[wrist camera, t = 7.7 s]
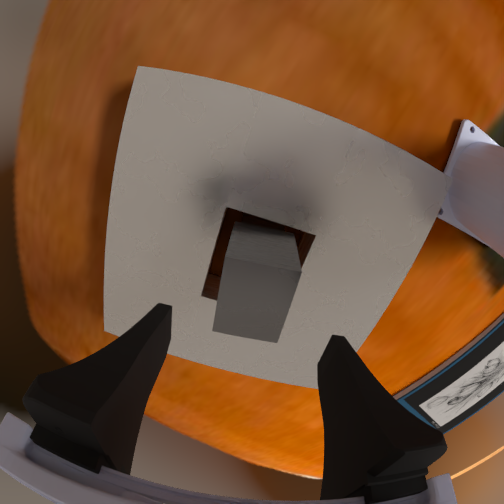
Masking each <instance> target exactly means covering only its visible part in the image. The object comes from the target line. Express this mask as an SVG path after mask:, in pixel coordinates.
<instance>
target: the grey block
mask: <svg viewBox="0 0 504 504" xmlns="http://www.w3.org/2000/svg"><path fill="white" fill-rule="evenodd" d="M301 274H302V270H301V265H300V260H299V255H298V250H297V245H296V241H295V236H294V233H290V232H285V226H284V225H283V224H280V223H277V222H274V221H271V220H267V219H264V218H261V217H258V216H255V215H252V214H247V213H243V217H242V221H241V222H238V221H235V223H234V227H233V230H232V234H231V237H230V241H229V244H228V248H227V251H226V255H225V259H224V265H223V270H222V276H221V282H220V287H219V293H218V299H217V305H216V311H215V317H214V323H213V329H212V331H213V332H218V333H223V334H228V335H233V336H239V337H244V338H250V339H255V340H261V341H267V342H273V343H277V342H278V340H279V337H280V334H281V331H282V329H283V326H284V323H285V320H286V317H287V315H288V312H289V309H290V306H291V303H292V300H293V297H294V294H295V292H296V289H297V286H298V283H299V280H300V277H301Z"/></svg>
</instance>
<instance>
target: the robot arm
mask: <svg viewBox="0 0 504 504" xmlns="http://www.w3.org/2000/svg"><path fill="white" fill-rule="evenodd" d="M471 127H472V131H470V128H471ZM443 173H444V174H446V175H447V176H449V177H451V178H452V179H453V181H452V183H451V185H450V188H449V190H448V193H447V195H446V197H445V200H444V202H443V204H442V206H441V208H440V209H441V211H440V213H438V215H437V217H438V218H440V219H442V220H444V221H445V222H447V223H449V224H451V225H453V226H455V227H456V228H458V229H460V230H462V231H464V232H465V233H467V234H469V235H471V236H472V237H474V238H476V239H477V240H479V241H481V242H482V243H484V244H486V245H487V246H489V247H491V248H492V249H494V250H495V251H496V252H497V253H498V254H500V255H501V256H502V257H503V258H504V147H501V146H499V145H498V144H497V143H496V142H495V141H494V140H492V139H491V138H490V137H489V136H488V135H487V134H485V133H484V132H483V131H482V130H481V129H479V128H478V127H477V126H476V125H475V124H473V123H472V122H471V121H469V120H466V119H465V120H463V121H462V122H461V125H460V128H459V131H458V134H457V137H456V140H455V143H454V146H453V149H452V151H451V154H450V157H449V160H448V162H447V165H446V167H445V170H444V172H443ZM171 327H172V306H171V305H167V304H162V303H158V304H156V305H155V306H154V307H153V308H152V309H151V310H150V311H149V312H148V313H147V314H146V315H145V316H144V317H143V318H142V319H141V320H139V321H138V322H137V323H136V324H135V325H134V326H132V327H131V328H130V329H129V330H128V331H126V332H125V333H124V334H122V335H121V336H120V337H118V338H117V339H116V340H114V341H113V342H112V343H110V344H109V345H107V346H106V347H104V348H102V349H101V350H99V351H97V352H96V353H94V354H92V355H90V356H88V357H86V358H84V359H82V360H80V361H78V362H76V363H73V364H71V365H68V366H66V367H63V368H60V369H58V370H54V371H51V372H47V373H44V374H40V375H38V376H37V377H36V378H35V380H34V381H33V382H32V384H31V385H30V387H29V389H28V390H27V392H26V394H25V396H24V397H23V404H24V406H25V408H26V409H27V411H28V412H29V414H30V415H31V417H32V418H33V419H34V421H35V422H36V423H37V424H36V426H35V427H34V429H33V428H32V427H31V426H29V425H28V424H27V423H25V422H23V421H22V420H20V419H19V418H17V417H15V416H14V415H12V414H11V413H7V414H6V416H5V417H4V419H3V421H2V423H1V425H0V468H1V469H2V470H3V471H5V472H6V473H7V474H9V475H10V476H11V477H13V478H14V479H15V480H17V481H19V482H20V483H22V484H23V485H25V486H26V487H28V488H30V489H31V490H33V491H34V492H36V493H38V494H39V495H41V496H43V497H45V498H47V499H48V500H50V501H52V502H54V503H56V504H163V503H165V504H457V500H456V496H455V492H454V489H453V485H452V481H451V478H450V474H449V473H446V474H443V475H440V476H436V477H433V478H430V479H428V480H426V478H425V475H427V474H428V469H427V467H428V466H429V465H431V464H432V463H433V462H435V461H436V460H437V459H439V458H440V457H441V456H442V455H443V454H444V453H445V452H446V450H447V445H446V442H445V439H444V436H443V433H442V432H441V431H439V430H437V429H435V428H434V427H432V426H430V425H428V424H427V423H425V422H423V421H422V420H421V419H419V418H418V417H416V416H415V415H414V414H412V413H411V412H410V411H408V410H407V409H406V408H405V407H404V406H402V405H401V404H400V403H399V402H398V401H397V400H396V399H395V398H394V397H393V396H392V395H391V394H390V393H389V392H388V391H387V390H386V389H385V388H384V387H383V386H382V385H381V384H380V383H379V381H378V380H377V379H376V378H375V377H374V376H373V374H372V373H371V372H370V370H369V369H368V368H367V367H366V365H365V364H364V363H363V361H362V360H361V358H360V357H359V356H358V354H357V353H356V352H355V350H354V349H353V347H352V346H351V345H350V343H349V342H348V340H347V339H346V338H345V337H344V336H339V335H332V336H331V338H330V340H329V342H328V344H327V346H326V348H325V350H324V352H323V354H322V356H321V358H320V360H319V362H318V364H317V380H318V390H319V396H320V403H321V409H322V416H323V423H324V469H323V482H322V489H321V497H320V500H318V501H271V500H269V501H268V500H253V499H242V498H233V497H224V496H217V495H211V494H204V493H199V492H193V491H188V490H183V489H179V488H174V487H170V486H166V485H161V484H158V483H154V482H150V481H147V480H144V479H140V478H137V477H133V476H131V475H130V471H131V466H132V461H133V456H134V451H135V446H136V442H137V437H138V433H139V429H140V425H141V421H142V417H143V414H144V411H145V407H146V404H147V401H148V398H149V395H150V393H151V391H152V388H153V386H154V384H155V381H156V379H157V377H158V374H159V372H160V370H161V367H162V365H163V363H164V360H165V358H166V355H167V351H168V348H169V344H170V341H171Z"/></svg>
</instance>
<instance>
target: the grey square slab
mask: <svg viewBox="0 0 504 504" xmlns="http://www.w3.org/2000/svg"><path fill="white" fill-rule="evenodd" d="M452 181H453V179H452V178H451V177H449V176H447V175H446V174H444V173H443V172H441V171H439V170H438V169H436V168H434V167H433V166H431V165H429V164H428V163H426V162H424V161H422V160H421V159H419V158H417V157H415V156H413V155H412V154H410V153H408V152H406V151H404V150H402V149H400V148H399V147H397V146H395V145H393V144H391V143H389V142H387V141H385V140H383V139H381V138H379V137H377V136H375V135H372V134H370V133H368V132H366V131H364V130H362V129H360V128H357V127H355V126H353V125H351V124H348V123H346V122H344V121H341V120H339V119H336V118H334V117H332V116H329V115H327V114H324V113H321V112H319V111H316V110H314V109H311V108H308V107H306V106H303V105H300V104H297V103H294V102H292V101H289V100H286V99H283V98H280V97H276V96H273V95H270V94H267V93H264V92H260V91H257V90H254V89H250V88H246V87H243V86H239V85H235V84H231V83H228V82H223V81H219V80H215V79H211V78H206V77H202V76H197V75H192V74H187V73H182V72H176V71H170V70H164V69H158V68H151V67H143V66H138V68H137V71H136V75H135V78H134V82H133V85H132V89H131V93H130V96H129V100H128V104H127V108H126V112H125V117H124V121H123V126H122V130H121V135H120V140H119V145H118V150H117V156H116V162H115V167H114V174H113V180H112V187H111V195H110V203H109V212H108V222H107V233H106V247H105V265H104V331H107V332H109V333H112V334H114V335H117V336H119V337H120V336H121V335H122V334H124V333H125V332H126V331H128V330H129V329H130V328H131V327H132V326H134V325H135V324H136V323H137V322H138V321H139V320H141V319H142V318H143V317H144V316H145V315H146V314H147V313H148V312H149V311H150V310H151V309H152V308H153V307H154V306H155V305H156V304H158V303H162V304H167V305H171V306H172V327H171V341H170V344H169V348H168V351H167V353H168V354H171V355H174V356H177V357H181V358H184V359H187V360H191V361H194V362H198V363H201V364H205V365H208V366H212V367H216V368H220V369H223V370H227V371H231V372H235V373H240V374H244V375H248V376H252V377H257V378H262V379H266V380H271V381H276V382H281V383H286V384H292V385H297V386H303V387H309V388H315V389H318V380H317V364H318V362H319V360H320V358H321V356H322V354H323V352H324V350H325V348H326V346H327V344H328V342H329V340H330V338H331V336H332V335H339V336H344V337H345V338H346V339H347V340H348V342H349V343H350V345H351V346H352V347H353V349H354V350H355V352H357V351H358V349H359V348H360V347H361V345H362V344H363V342H364V341H365V339H366V338H367V337H368V335H369V334H370V332H371V331H372V329H373V328H374V326H375V325H376V323H377V322H378V320H379V319H380V317H381V316H382V314H383V313H384V311H385V310H386V308H387V306H388V305H389V303H390V302H391V300H392V298H393V297H394V295H395V294H396V292H397V290H398V289H399V287H400V285H401V283H402V282H403V280H404V278H405V277H406V275H407V273H408V271H409V270H410V268H411V266H412V264H413V262H414V261H415V259H416V257H417V255H418V253H419V251H420V249H421V247H422V246H423V244H424V242H425V240H426V238H427V236H428V234H429V232H430V230H431V228H432V226H433V223H434V221H435V219H436V217H437V215H438V213H439V211H440V208H441V206H442V204H443V202H444V200H445V197H446V195H447V193H448V190H449V188H450V185H451V183H452ZM228 207H229V208H232V209H235V210H239V211H242V212H245V213H248V214H252V215H255V216H258V217H261V218H264V219H267V220H271V221H274V222H277V223H280V224H283V225H286V226H289V227H292V228H295V229H298V230H301V231H304V233H303V235H302V237H301V240H300V242H299V245H298V247H297V250H298V255H299V260H300V265H301V270H302V274H301V277H300V280H299V283H298V286H297V289H296V292H295V294H294V297H293V300H292V303H291V306H290V309H289V312H288V315H287V317H286V320H285V323H284V326H283V329H282V331H281V334H280V337H279V340H278V342H277V343H273V342H267V341H261V340H255V339H250V338H244V337H239V336H233V335H228V334H223V333H218V332H213V331H212V329H213V323H214V317H215V311H216V305H217V299H218V293H219V287H220V282H221V277H219V276H216V275H212V274H209V270H210V266H211V263H212V259H213V256H214V252H215V249H216V245H217V242H218V238H219V235H220V231H221V228H222V225H223V221H224V218H225V214H226V211H227V208H228Z"/></svg>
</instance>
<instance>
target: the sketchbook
mask: <svg viewBox="0 0 504 504" xmlns="http://www.w3.org/2000/svg"><path fill="white" fill-rule="evenodd" d="M503 391H504V313H503V314H502V315H501V316H500V317H499V318H498V319H497V320H496V321H495V322H493V323H492V324H491V325H490V326H489V327H488V328H487V329H486V330H484V331H483V332H482V333H481V334H480V335H479V336H477V337H476V338H475V339H474V340H473V341H471V342H470V343H469V344H468V345H466V346H465V347H464V348H463V349H461V350H460V351H459V352H457V353H456V354H455V355H454V356H452V357H451V358H450V359H448V360H447V361H445V362H444V363H443V364H441V365H440V366H439V367H437V368H436V369H434V370H433V371H431V372H430V373H429V374H427V375H426V376H424V377H422V378H421V379H419V380H418V381H416V382H415V383H413V384H412V385H410V386H408V387H407V388H405V389H404V390H402V391H400V392H399V393H397V394H395V395H393V397H394V398H395V399H396V400H397V401H398V402H399V403H400V404H401V405H402V406H404V407H405V408H406V409H407V410H408V411H410V412H411V413H412V414H414V415H415V416H416V417H418V418H419V419H421V420H422V421H423V422H425V423H427V424H428V425H430V426H432V427H434V428H435V429H437V430H439V431H441V432H442V433H443V434H445V433H446V432H448V431H450V430H451V429H453V428H454V427H456V426H457V425H459V424H460V423H462V422H464V421H465V420H466V419H468V418H469V417H471V416H472V415H474V414H475V413H476V412H478V411H479V410H481V409H482V408H483V407H484V406H486V405H487V404H488V403H490V402H491V401H492V400H494V399H495V398H496V397H497V396H499V395H500V394H501V393H502V392H503Z"/></svg>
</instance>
